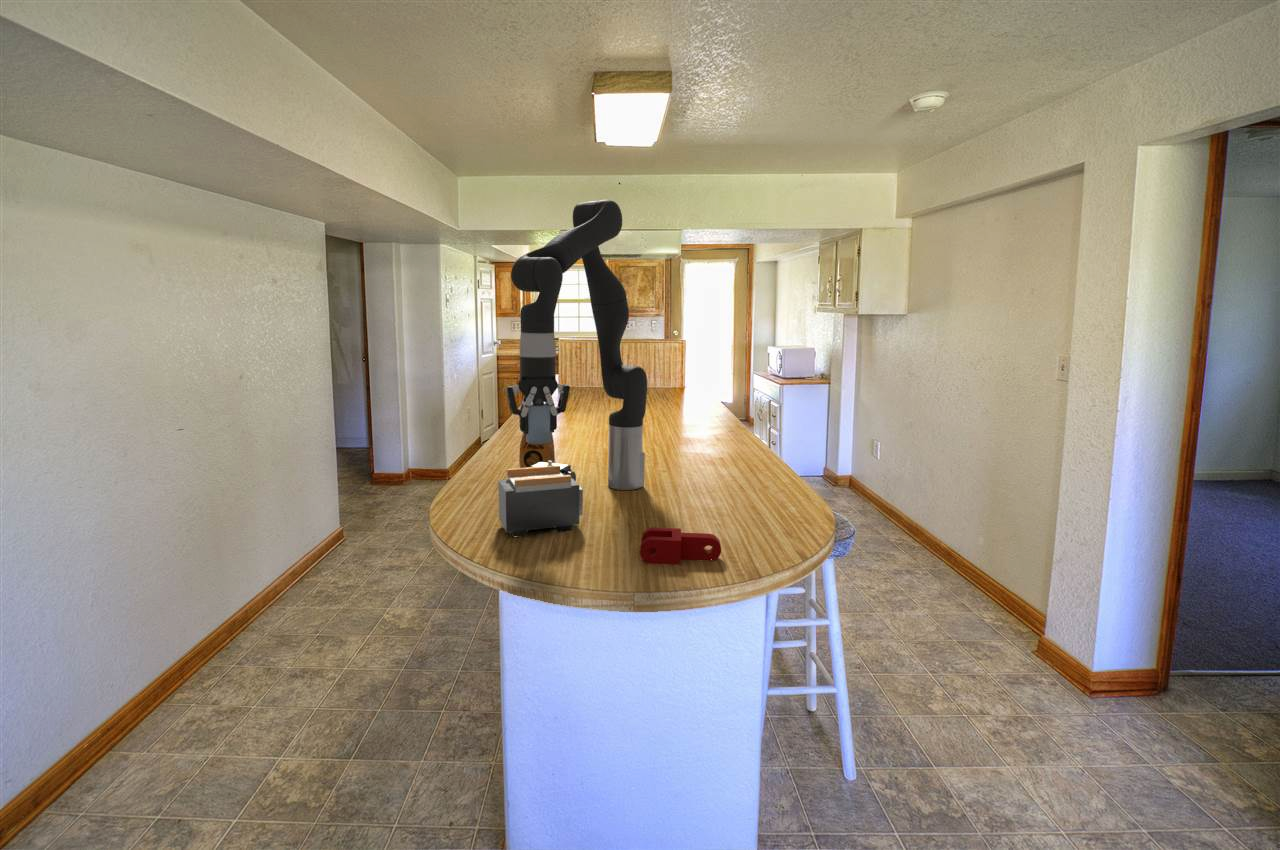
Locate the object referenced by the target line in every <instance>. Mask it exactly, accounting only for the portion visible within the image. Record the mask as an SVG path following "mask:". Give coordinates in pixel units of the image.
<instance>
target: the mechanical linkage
mask: <svg viewBox="0 0 1280 850" xmlns="http://www.w3.org/2000/svg"><path fill="white" fill-rule="evenodd" d="M721 545H722V544H721V542H720V539H719V538H718V537H717V536H716V535H715V534H712V533H706V532H704V533H701V532H682V528H676V527H649V528H647V529H645V531H643V533H642V536H641V540H640V547H639V556H640V558H641V559H642V561H643V562H645V563H646V564H660V565H661V564H662V565H663V564H664V565H681V561H697V560H711V559H712V560H714V561H716V560H717V559H719V557H720V556H721V554H722V546H721ZM708 546H709V547H711V548H709V549H706V547H708Z"/></svg>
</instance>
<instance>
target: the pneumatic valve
mask: <svg viewBox="0 0 1280 850" xmlns="http://www.w3.org/2000/svg"><path fill="white" fill-rule="evenodd" d="M555 465H560V472H561V473H562V474H563V475H571V478H572V479H573V480H575V481H576V480H577V474H576V472H575V471H573V469H572V465H571V464H563V463H555V464H554V463H552V461H548V463H545V462H536V463H534V464H532V465H530V466H529V467H541V466H555ZM576 482H577V481H576Z"/></svg>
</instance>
